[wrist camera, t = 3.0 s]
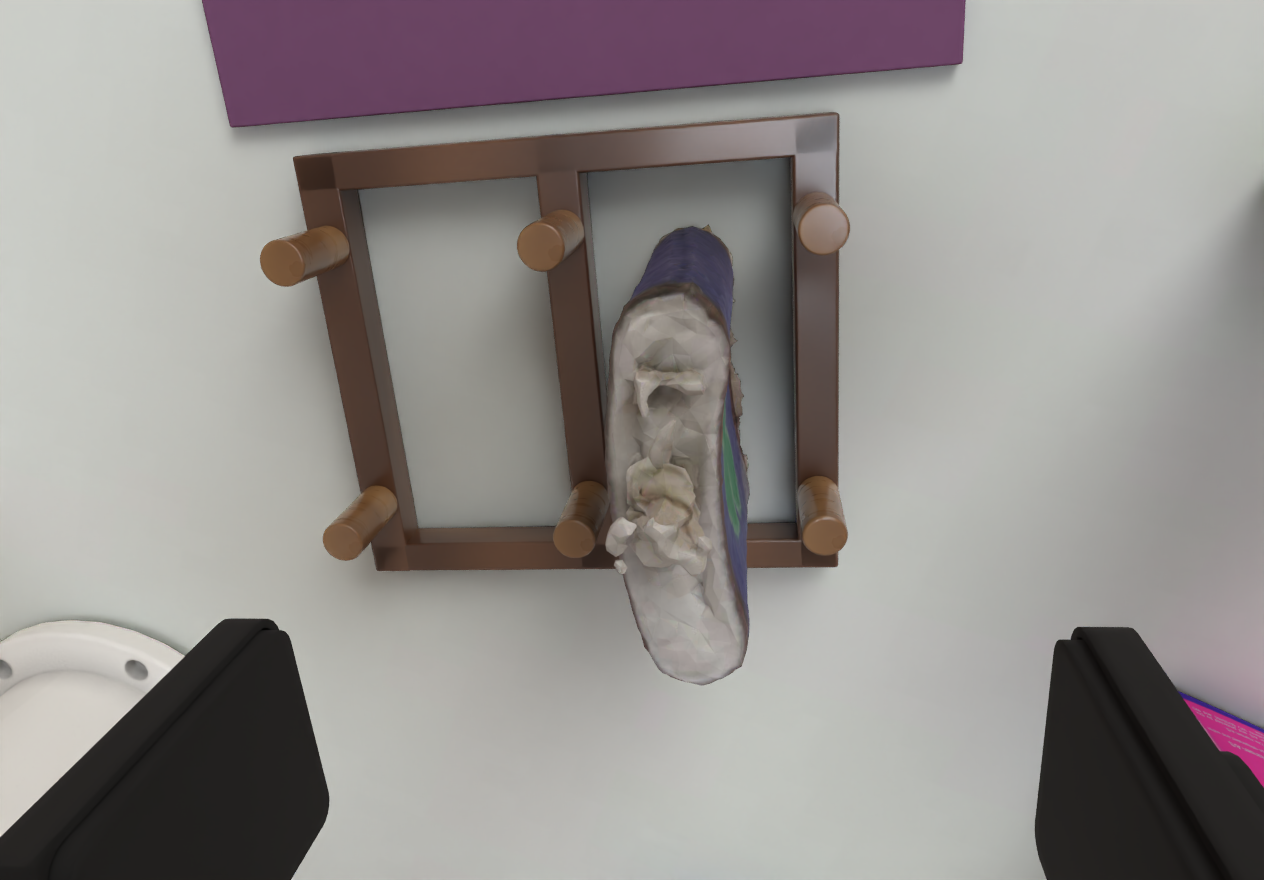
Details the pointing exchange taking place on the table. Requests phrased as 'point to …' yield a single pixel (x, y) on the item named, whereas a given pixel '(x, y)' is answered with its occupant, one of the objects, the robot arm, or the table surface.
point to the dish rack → (565, 331)
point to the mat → (547, 49)
